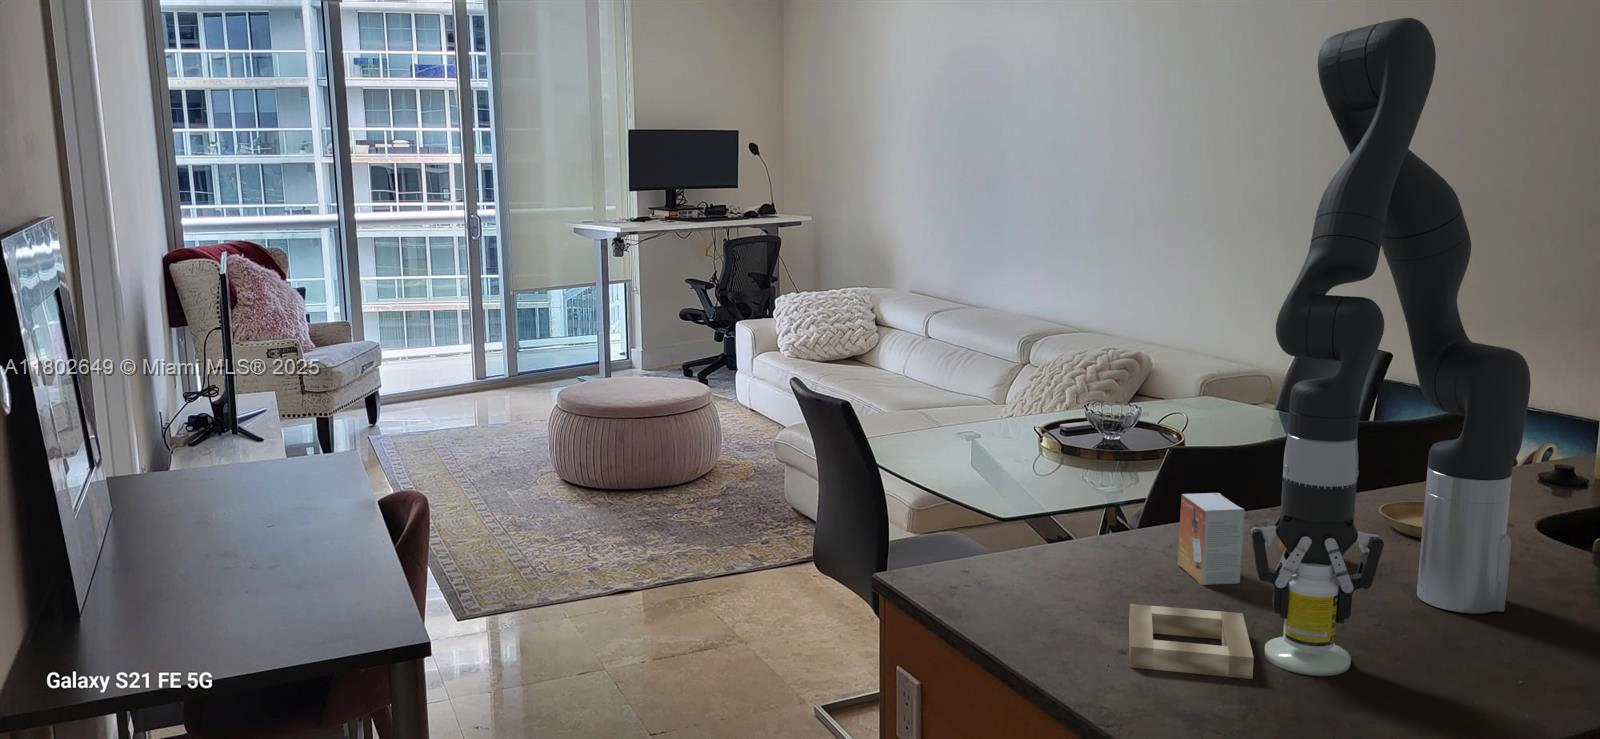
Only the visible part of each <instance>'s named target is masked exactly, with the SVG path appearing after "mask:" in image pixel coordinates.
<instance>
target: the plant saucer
mask: <svg viewBox="0 0 1600 739" xmlns="http://www.w3.org/2000/svg"><path fill="white" fill-rule="evenodd" d="M1424 505H1425V501H1421V500H1420V501H1419V500H1407V501H1405V500H1403V501H1402V500H1401V501H1393V502H1388V503H1385V504H1381V506H1379V508H1378V510H1379V511H1378V512H1379V514H1381V516H1382V518H1383V519H1384V520H1385V522H1386V523H1388V524H1389V526H1391V527H1392V528H1393V529H1394V530H1396V531H1397V532H1399V533H1402V534H1404V535H1407V536H1411V537H1414V538H1415V537H1416V538H1418V539H1422V528H1423V516H1424Z"/></svg>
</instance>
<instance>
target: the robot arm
mask: <svg viewBox="0 0 1600 739" xmlns="http://www.w3.org/2000/svg"><path fill="white" fill-rule="evenodd" d="M1436 58H1437V56H1436V46H1435V42H1434V39H1433V36H1432V33H1431V32H1430V30H1429V28H1428V27H1427V26H1426V25H1425V23H1423V22H1422V21H1420V20H1419V19H1417V18H1413V17H1403V18H1395V19H1391V20H1390V19H1389V20H1386V21H1382V22H1378V23H1374V24H1370V25H1366V26H1362V27H1358V28H1355V29H1351V30H1347V31H1346V30H1345V31H1342V32H1340V33H1336V34H1334V35H1331V36H1329V37H1328V38H1327V39H1325V41H1324V42H1323V43H1322V45H1321V47H1320V49H1319V52H1318V57H1317V72H1318V73H1317V74H1318V78H1319V83H1320V87H1321V90H1322V94H1323V96H1324V97H1323V98H1324V100H1325V101H1326V104H1327V107H1328V109H1329V112H1330V113H1331V116H1332V118H1333V120H1334V122H1335V125H1336V127H1337V129H1338V131H1339V133H1340V136H1341V138H1342V139H1343V142H1344V144H1345V146H1346V149H1347V151H1348V152H1349V154H1350V155H1349V156H1348V158H1347V159H1346V160H1345V161H1344V162H1343V164H1342V166H1341V167H1340V168H1339V170H1338V171H1337V172H1336V173H1335V175H1334V176H1333V177H1332V179H1330V182H1329V183H1328V185H1327V187H1326V188H1325V190H1324V192H1323V195H1322V196H1321V199H1320V201H1319V204H1318V208H1317V209H1316V210H1317V211H1316V215H1315V219H1314V224H1313V231H1312V235H1311V239H1310V245H1309V248H1308V253H1307V256H1306V259H1305V260H1304V263H1303V265H1302V268H1301V270H1300V272H1299V274H1298V276H1297V278H1296V280H1295V282H1294V284H1293V286H1291V289H1290V291H1289V293H1288V294H1287V296H1286V298H1285V300H1284V302H1283V304H1282V306H1281V307H1280V310H1279V312H1278V315H1277V319H1276V323H1275V336H1276V337H1275V338H1276V340H1277V342H1278V345H1279V347H1280V349H1281V350H1282V351H1284V353H1285V354H1287V355H1289V356H1290V357H1295V358H1302V359H1303V358H1304V359H1316V360H1327V361H1335V362H1337V361H1338V362H1341V363H1340V364H1341V365H1340V367H1339V370H1338V372H1337V374H1335V375H1334V376H1329V377H1328V376H1327V377H1322V378H1321V377H1320V378H1311V379H1310V378H1309V379H1304V380H1303V379H1302V380H1301V381H1298V382H1296V383H1295V384H1294V385H1292V387H1291V391H1290V396H1289V407H1288V408H1289V409H1288V410H1289V412H1288V422H1287V423H1288V424H1287V425H1288V426H1287V438H1286V442H1285V446H1284V453H1283V454H1284V455H1283V466H1282V467H1283V469H1282V484H1281V498H1280V499H1281V501H1280V502H1281V504H1280V515H1279V518H1278V520H1277V521H1276V522H1275V524H1274V525H1269V526H1262V527H1261V526H1260V525H1258V524H1253V525H1251V526H1250V527H1249V533H1250V537H1251V544H1252V550H1253V556H1254V558H1253V559H1254V562H1255V568H1256V572H1257V575H1258V576H1257V577H1258V579H1259V581H1261V582H1265V583H1266V582H1267V583H1269V584H1272V596H1271V598H1272V601H1271V605H1272V609H1273V610H1274V614H1277V616H1278V618H1279V619H1282V620H1284V619H1286V618H1287V603H1288V587H1287V583H1288V581H1289V579H1290V577H1291V576H1292V575H1294V573H1296V572H1295V571H1296V569H1297V567H1298V565H1299V564H1300V563H1307V564H1309V563H1319V564H1322V565H1330V564H1331V563H1332V565H1333V568H1334V569H1333V573H1334V574H1335V577H1336V579H1337V582H1338V604H1337V616H1336V624H1345V620H1349V619H1350V617H1351V616H1352V604H1353V603H1352V602H1353V594H1354V593H1355V591H1357V590H1359V589H1365V590H1368V589H1370V588H1371V587H1372V584H1373V582H1374V577H1375V576H1376V572H1377V569H1378V564H1379V562H1380V558H1381V557H1382V552H1383V549H1384V546H1385V543H1384V541H1383V539H1382V538H1381V536H1380V535H1379V533H1378V532H1377V531H1376V532H1375V531H1371V532H1369V533H1366V532H1363V531H1358V530H1357V528H1356V526H1355V509H1356V496H1357V483H1358V477H1359V473H1360V472H1359V451H1358V450H1359V449H1358V431H1359V423H1360V422H1359V420H1360V418H1359V417H1360V407H1361V400H1362V394H1363V391H1364V386H1365V383H1366V380H1367V377H1368V374H1369V371H1370V368H1371V366H1372V363H1373V361H1374V359H1375V356H1376V353H1377V351H1378V349H1379V346H1380V344H1381V342H1382V339H1383V336H1384V332H1385V318H1384V317H1385V316H1384V314H1383V311H1382V310H1381V308H1380V306H1379V305H1378V304H1377V303H1376V302H1375V301H1374V300H1372V299H1371V298H1370V297H1369V298H1368V297H1363V296H1353V295H1351V296H1350V295H1349V296H1348V295H1331V294H1328V293H1329V291H1330V290H1332V289H1333V288H1335V287H1337V286H1341V285H1345V284H1350V283H1356V282H1360V281H1361V282H1362V281H1364V280H1367V279H1369V278H1370V277H1372V276H1373V275H1374V273H1375V272H1376V269H1377V266H1378V263H1379V257H1380V251H1381V249H1382V253H1383V255H1384V257H1385V259H1386V262H1387V266H1388V267H1389V270H1390V273H1391V275H1392V279H1393V282H1394V285H1395V289H1396V292H1397V295H1398V299H1399V302H1400V306H1401V309H1402V312H1403V316H1404V319H1405V321H1406V322H1405V323H1406V327H1407V332H1408V335H1409V336H1408V337H1409V342H1410V346H1411V351H1412V352H1411V353H1412V355H1413V361H1414V362H1413V363H1414V367H1415V371H1416V376H1417V380H1418V383H1419V386H1420V389H1421V392H1422V394H1423V396H1424V398H1425V399H1426V400H1427V401H1428V402H1429V404H1430V405H1431V406H1432V407H1434V408H1436V409H1438V410H1440V411H1443V412H1445V413H1449V414H1453V415H1457V416H1462V417H1464V420H1463V424H1462V431H1461V434H1460V436H1459V437H1458V438H1456V439H1448V440H1441V441H1438V442H1436V443H1433V444H1432V445H1431V446H1430V448H1429V452H1428V459H1427V469H1426V470H1427V472H1426V473H1427V474H1426V482H1425V483H1426V485H1425V494H1424V496H1425V497H1424V502H1425V505H1424V516H1423V528H1422V538H1420V539H1421V540H1420V541H1421V542H1420V553H1419V561H1418V562H1419V563H1418V575H1417V586H1416V587H1417V588H1416V595H1417V597H1418V598H1419V600H1421V601H1422V602H1424V603H1426V604H1428V605H1429V606H1432V607H1435V608H1439V609H1442V610H1446V611H1452V612H1457V613H1462V614H1463V613H1465V614H1466V613H1467V614H1488V613H1490V612H1491V613H1492V612H1505V608H1506V607H1505V606H1506V598H1507V597H1506V596H1507V589H1508V588H1507V587H1508V586H1507V585H1508V578H1509V577H1508V576H1509V568H1510V558H1511V547H1512V539H1511V537H1510V536H1509V535H1508V534H1507V528H1508V519H1509V518H1508V517H1509V509H1510V508H1509V507H1510V497H1511V487H1512V476H1513V469H1514V468H1513V467H1514V464H1515V462H1516V459H1517V457H1518V456H1519V453H1520V450H1521V448H1522V445H1523V439H1524V438H1523V437H1524V433H1525V432H1524V431H1525V424H1526V419H1527V413H1528V409H1529V408H1528V406H1529V401H1530V394H1531V372H1530V368H1529V364H1528V362H1527V360H1526V359H1525V358H1524V356H1523V355H1522V354H1521V353H1519V352H1518V351H1517V350H1514V349H1510V348H1506V347H1502V346H1496V345H1490V344H1485V343H1484V344H1483V343H1478V342H1475V341H1472V340H1470V338H1469V336H1468V335H1467V333H1466V331H1465V330H1466V329H1465V328H1464V326H1463V323H1462V322H1463V321H1462V319H1461V315H1460V312H1459V307H1458V306H1459V305H1458V294H1459V292H1460V291H1459V290H1460V287H1461V285H1462V282H1463V280H1464V277H1465V275H1466V271H1467V269H1468V266H1469V264H1470V263H1469V262H1470V259H1471V254H1472V239H1471V235H1470V232H1469V229H1468V226H1467V221H1466V219H1465V216H1464V212H1463V209H1462V206H1461V203H1460V202H1461V201H1460V199H1459V197H1458V195H1457V192H1456V191H1455V190H1454V188H1453V187H1452V186H1451V185H1450V184H1449V183H1448V181H1446V179H1445V178H1444V177H1442V176H1441V175H1440V174H1439V173H1438V172H1437V171H1436V170H1434V168H1432V167H1431V166H1430V165H1429V164H1428V163H1426V162H1425V161H1424V160H1423V159H1422V158H1420V157H1419V155H1416V154H1415V153H1414V152H1413V151H1412V150H1411V149H1409V148H1410V145H1411V142H1412V140H1413V137H1414V135H1415V132H1416V130H1417V127H1418V123H1419V120H1420V119H1421V115H1422V112H1423V110H1424V107H1425V104H1426V101H1427V99H1428V98H1429V97H1428V96H1429V94H1430V90H1431V87H1432V84H1433V80H1434V76H1435V70H1436V61H1437V60H1436ZM1275 537H1277V538H1278V539H1279V541H1281V542H1282V543H1283V545H1284V546H1285V550H1284V552H1283V554H1281V556H1280V558H1279V562H1278V564H1277V566H1276V568H1275V569H1273V568H1271V567H1269V563H1268V562H1269V561H1268V557H1267V556H1268V555H1267V550H1266V549H1267V547H1270V546H1271V545H1272V543H1273V538H1275ZM1356 542H1357V543H1358V547H1359V548H1358V549H1360V551H1361V552H1362V554H1361V557H1360V561H1359V564H1358V567H1357V570H1356V573H1355V574H1351V575H1349V571H1348V568H1347V566H1346V563H1345V561H1344V558H1343V555H1345V553H1346V552H1347V551H1348V550H1350V548H1351V547H1352V546H1353V545H1354V544H1355V543H1356Z"/></svg>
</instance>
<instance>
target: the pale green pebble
mask: <svg viewBox="0 0 1600 739" xmlns="http://www.w3.org/2000/svg"><path fill="white" fill-rule="evenodd" d="M1264 656H1265V658H1266V660H1267V661H1268V662H1269V663H1271V664H1273V665H1274V666H1276V667H1278V668H1281V669H1284V670H1286V671H1289V672H1292V673H1296V674H1300V675H1306V676H1312V677H1313V676H1314V677H1330V676H1336V675H1341V674H1344V673H1345V672H1347V671H1349V669H1350V667H1351V660H1352V657H1351V654H1349V652H1348V651H1347V650H1345V649H1344V648H1342V647H1341V646H1339V645H1336V643H1334V646H1333V647H1332V648H1331V649H1329V650H1326V651H1307V650H1302V649H1298V648H1295V647H1293V646H1291V645H1289V644H1288V643H1286V642H1285V640H1284V638H1283V636H1278V637H1275V638H1272V639H1270V640H1268V641H1267V642H1266V643H1265V645H1264Z"/></svg>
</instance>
